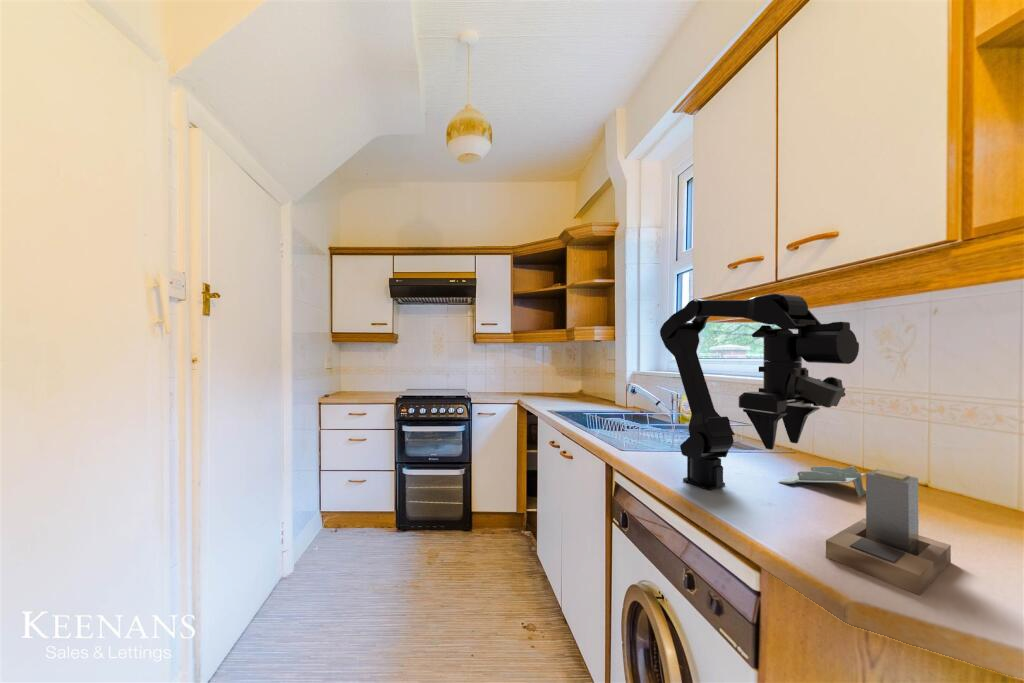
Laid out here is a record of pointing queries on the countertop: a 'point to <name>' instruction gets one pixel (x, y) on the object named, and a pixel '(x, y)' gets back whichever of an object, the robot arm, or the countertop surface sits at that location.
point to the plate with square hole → (889, 558)
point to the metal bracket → (830, 477)
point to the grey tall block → (892, 510)
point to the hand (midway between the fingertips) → (782, 445)
